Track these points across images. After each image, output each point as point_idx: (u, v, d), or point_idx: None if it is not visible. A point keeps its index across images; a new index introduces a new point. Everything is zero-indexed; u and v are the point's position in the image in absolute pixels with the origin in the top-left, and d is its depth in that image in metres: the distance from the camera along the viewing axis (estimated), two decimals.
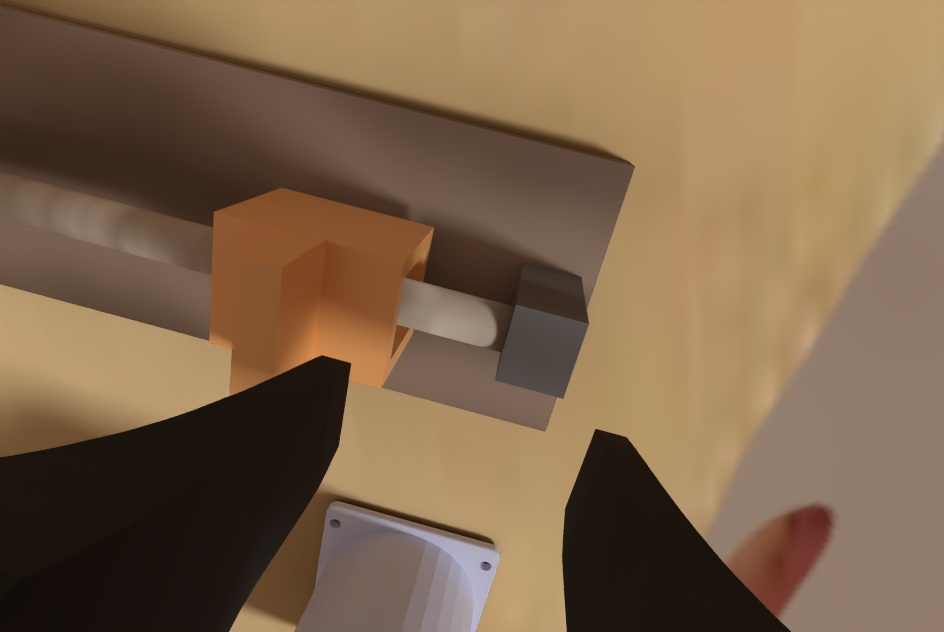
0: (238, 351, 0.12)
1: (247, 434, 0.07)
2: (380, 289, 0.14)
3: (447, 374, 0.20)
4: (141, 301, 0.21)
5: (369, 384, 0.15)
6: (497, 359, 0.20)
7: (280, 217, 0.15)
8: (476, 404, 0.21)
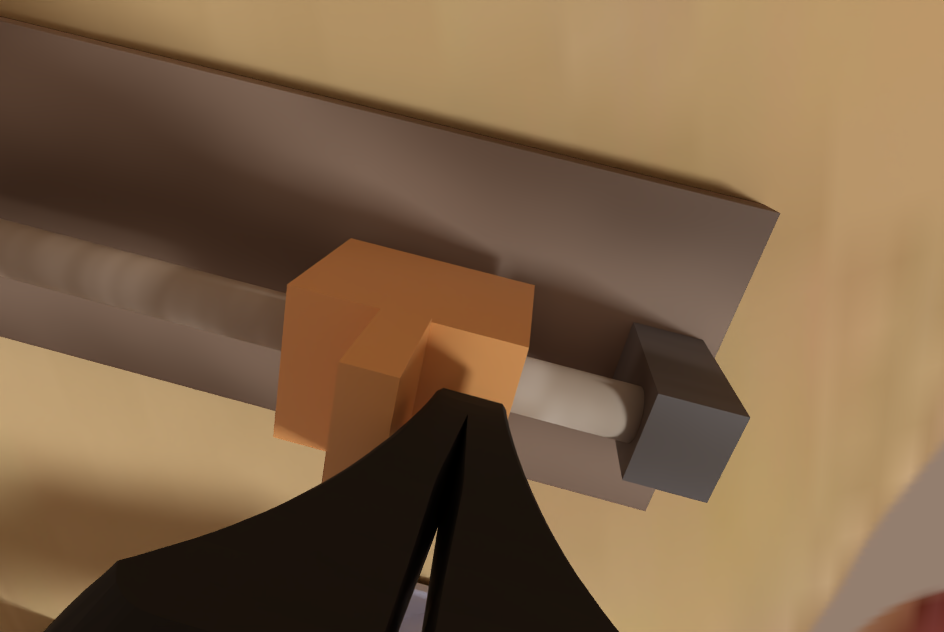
0: None
1: (426, 483, 0.07)
2: (495, 380, 0.11)
3: (533, 446, 0.17)
4: (175, 360, 0.18)
5: None
6: None
7: (365, 287, 0.12)
8: (565, 479, 0.18)
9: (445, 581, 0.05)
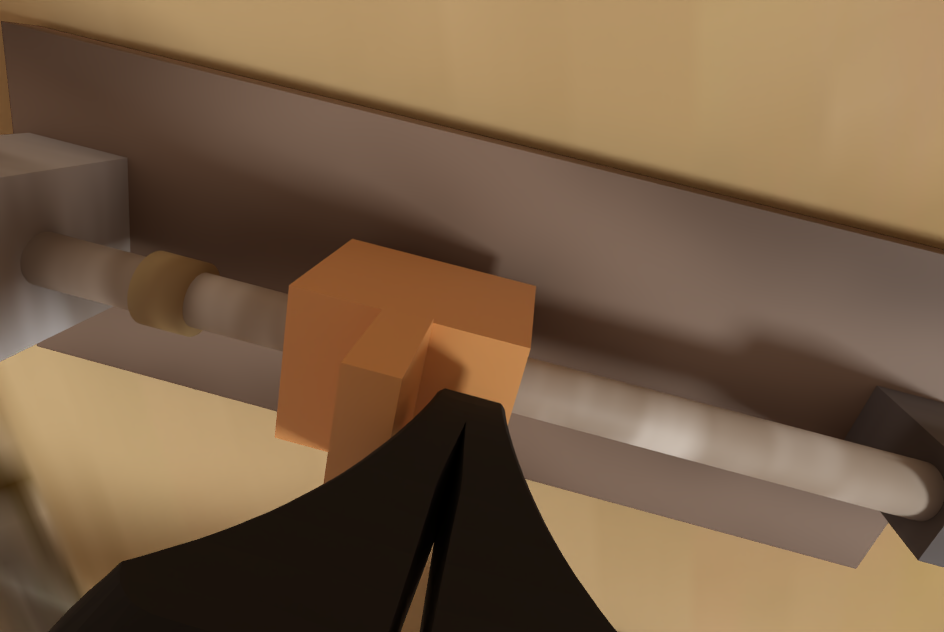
0: (332, 477, 0.10)
1: (428, 484, 0.07)
2: (496, 380, 0.11)
3: (746, 504, 0.17)
4: None
5: None
6: None
7: (366, 287, 0.12)
8: (775, 537, 0.18)
9: (442, 580, 0.05)
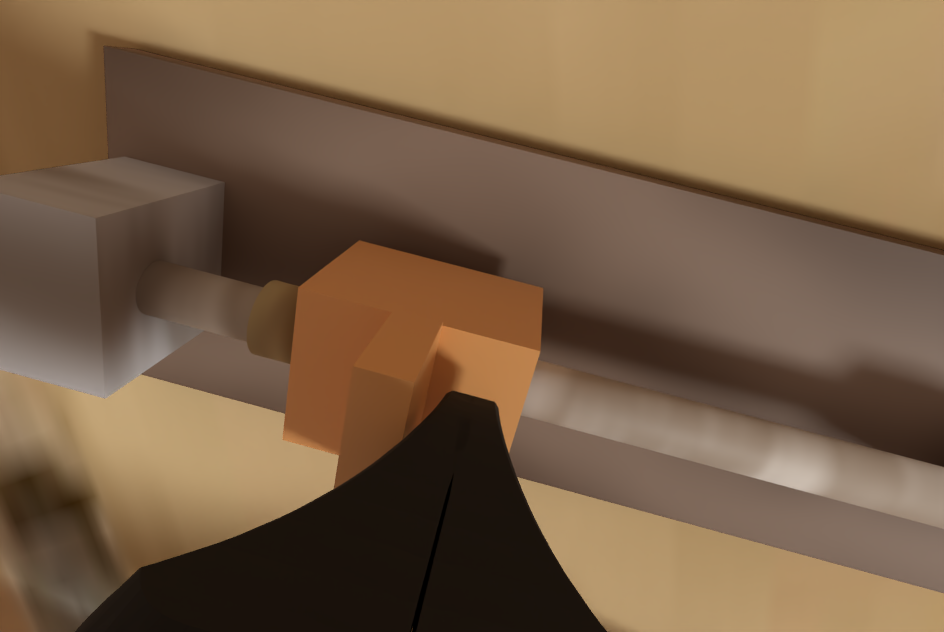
0: (344, 480, 0.10)
1: (440, 487, 0.07)
2: (506, 383, 0.11)
3: (838, 529, 0.17)
4: None
5: None
6: None
7: (375, 290, 0.12)
8: (866, 562, 0.17)
9: (429, 577, 0.05)
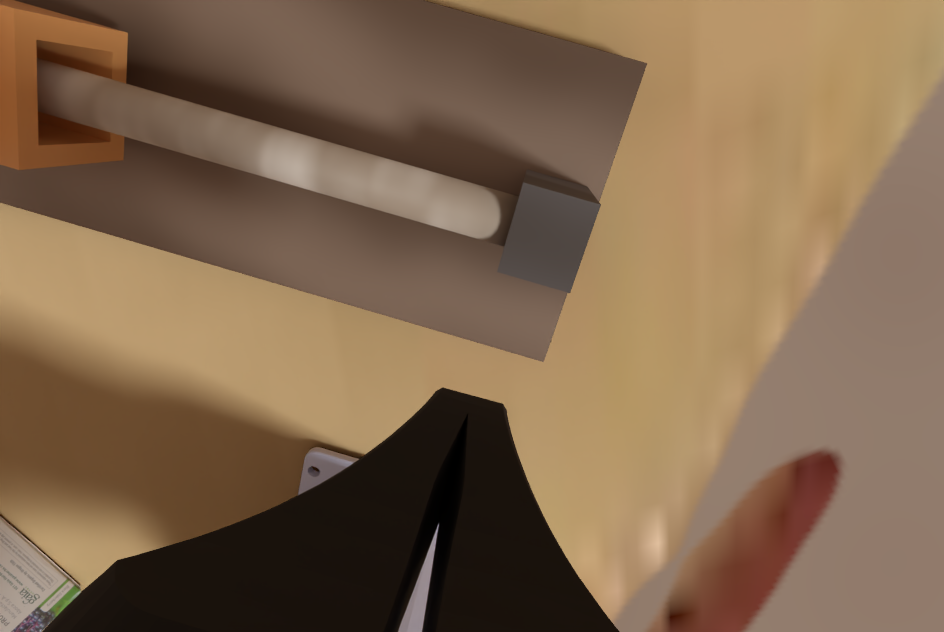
0: None
1: (425, 483, 0.07)
2: None
3: (441, 296, 0.19)
4: (114, 211, 0.20)
5: (6, 164, 0.14)
6: (495, 279, 0.19)
7: None
8: (471, 330, 0.19)
9: (445, 581, 0.05)
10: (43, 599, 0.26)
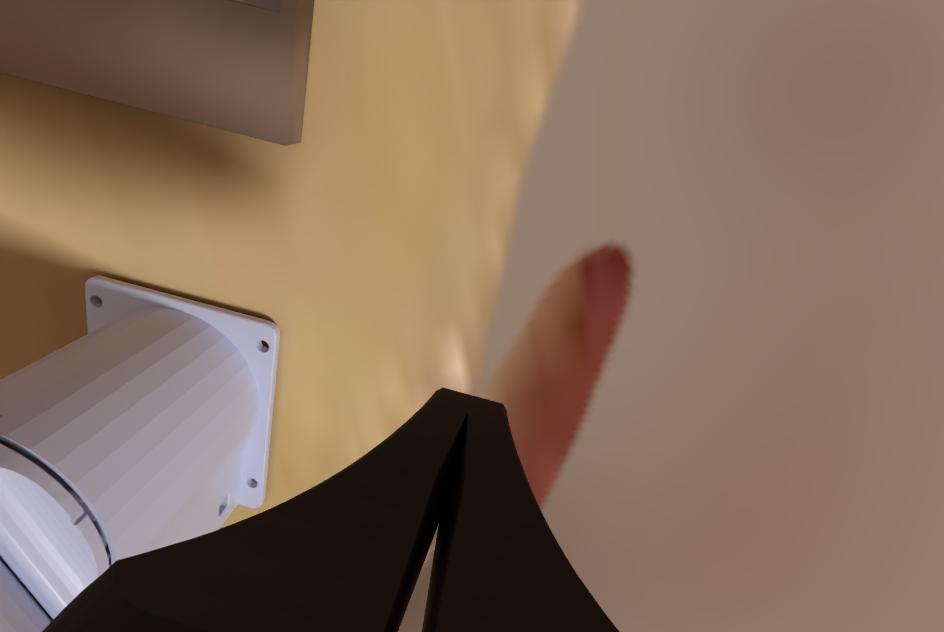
0: None
1: (425, 483, 0.07)
2: None
3: (166, 73, 0.18)
4: None
5: None
6: (216, 47, 0.17)
7: None
8: (205, 113, 0.18)
9: (445, 581, 0.05)
10: None
